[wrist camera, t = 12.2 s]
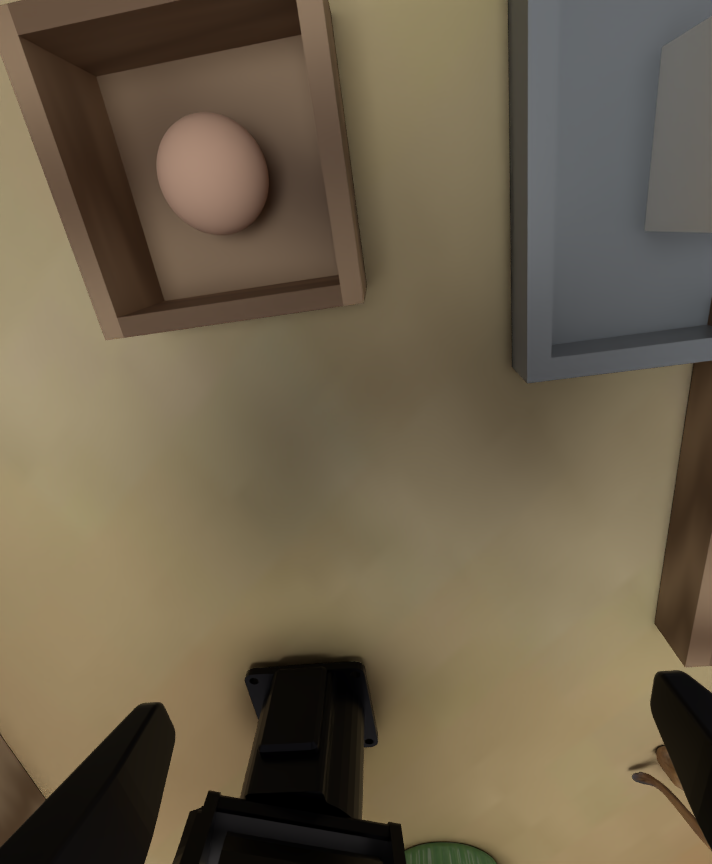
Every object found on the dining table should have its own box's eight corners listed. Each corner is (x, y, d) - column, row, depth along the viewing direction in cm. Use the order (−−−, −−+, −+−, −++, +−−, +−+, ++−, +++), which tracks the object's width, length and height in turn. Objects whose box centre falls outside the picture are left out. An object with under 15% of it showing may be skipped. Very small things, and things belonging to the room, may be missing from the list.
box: (366, 286, 17) (363, 302, 13) (161, 316, 18) (105, 340, 14) (330, 10, 14) (313, -66, 10) (82, 62, 15) (-17, 9, 11)
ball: (287, 226, 16) (266, 226, 13) (197, 240, 16) (157, 244, 13) (266, 115, 14) (238, 88, 12) (169, 133, 15) (118, 111, 12)
